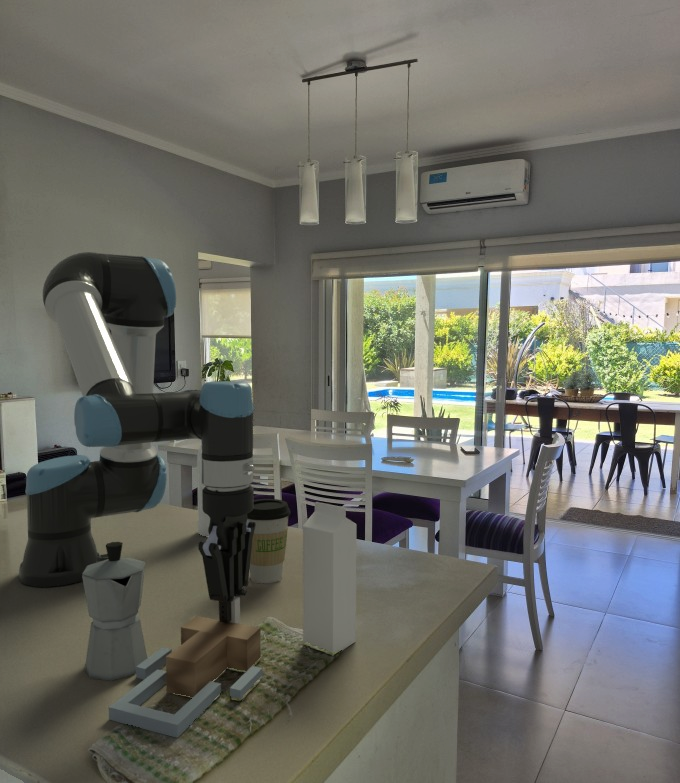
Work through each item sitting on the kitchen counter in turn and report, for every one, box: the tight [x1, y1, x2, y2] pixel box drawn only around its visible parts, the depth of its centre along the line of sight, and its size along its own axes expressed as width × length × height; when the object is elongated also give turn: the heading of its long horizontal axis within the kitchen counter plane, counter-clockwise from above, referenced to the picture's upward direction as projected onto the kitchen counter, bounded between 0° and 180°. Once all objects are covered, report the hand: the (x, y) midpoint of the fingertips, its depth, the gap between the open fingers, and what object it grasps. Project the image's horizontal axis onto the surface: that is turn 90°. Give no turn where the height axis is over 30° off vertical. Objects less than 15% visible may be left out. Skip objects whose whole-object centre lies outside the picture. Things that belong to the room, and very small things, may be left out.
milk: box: [302, 501, 357, 653], centre depth 95 cm, size 6×6×22 cm
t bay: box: [108, 647, 263, 739], centre depth 81 cm, size 17×15×2 cm
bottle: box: [196, 444, 210, 537], centre depth 152 cm, size 8×8×30 cm
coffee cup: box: [247, 498, 291, 585], centre depth 123 cm, size 10×10×15 cm
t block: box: [165, 615, 262, 697], centre depth 87 cm, size 11×12×5 cm
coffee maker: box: [82, 541, 148, 682], centre depth 90 cm, size 15×9×18 cm, turn 33°
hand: (230, 639), depth 93 cm, fingers closed
